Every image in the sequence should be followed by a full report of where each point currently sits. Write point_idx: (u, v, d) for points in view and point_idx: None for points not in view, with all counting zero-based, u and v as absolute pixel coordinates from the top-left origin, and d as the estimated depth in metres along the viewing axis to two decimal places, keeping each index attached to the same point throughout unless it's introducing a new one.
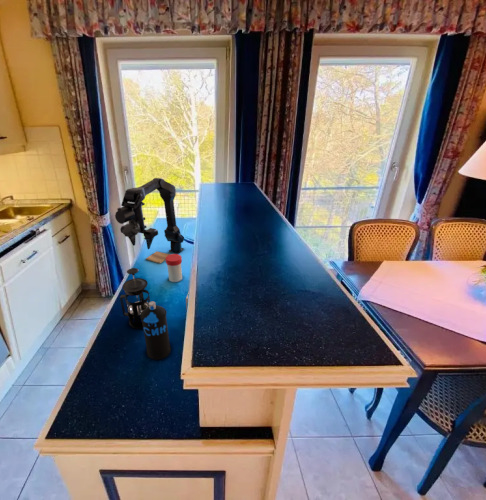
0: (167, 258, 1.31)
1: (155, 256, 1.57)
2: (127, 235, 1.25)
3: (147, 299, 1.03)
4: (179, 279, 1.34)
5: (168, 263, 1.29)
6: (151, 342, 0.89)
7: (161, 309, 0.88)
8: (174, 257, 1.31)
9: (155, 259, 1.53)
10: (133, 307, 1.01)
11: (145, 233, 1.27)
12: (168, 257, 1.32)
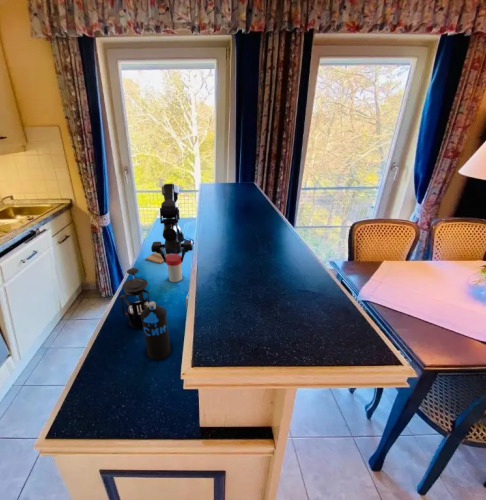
0: (167, 258, 1.31)
1: (155, 256, 1.57)
2: (171, 252, 1.21)
3: (147, 299, 1.03)
4: (179, 279, 1.34)
5: (168, 263, 1.29)
6: (151, 342, 0.89)
7: (161, 309, 0.88)
8: (174, 257, 1.31)
9: (155, 259, 1.53)
10: (133, 307, 1.01)
11: (185, 246, 1.26)
12: (168, 257, 1.32)
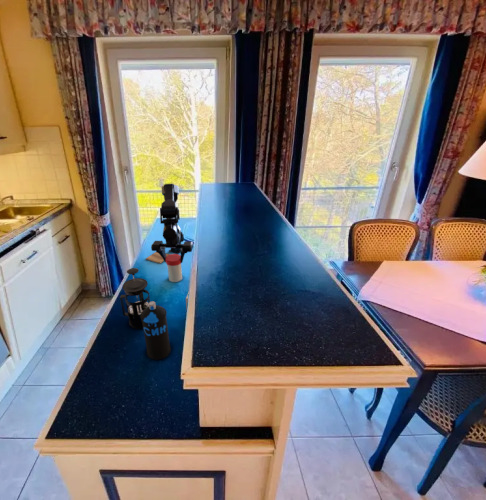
0: (179, 257, 1.32)
1: (155, 256, 1.57)
2: None
3: (147, 299, 1.03)
4: (179, 279, 1.34)
5: None
6: (151, 342, 0.89)
7: (161, 309, 0.88)
8: (172, 257, 1.31)
9: (155, 259, 1.53)
10: (133, 307, 1.01)
11: None
12: (178, 257, 1.31)
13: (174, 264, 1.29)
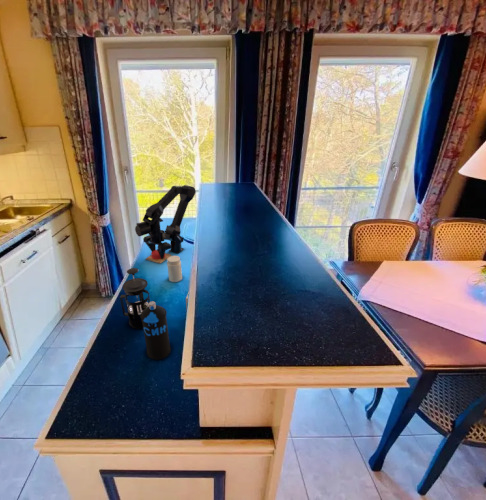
0: None
1: None
2: None
3: (147, 299, 1.03)
4: (179, 279, 1.34)
5: (164, 254, 1.56)
6: (151, 341, 0.89)
7: (161, 309, 0.88)
8: (157, 252, 1.56)
9: (155, 259, 1.53)
10: (133, 307, 1.01)
11: None
12: None
13: (154, 258, 1.53)
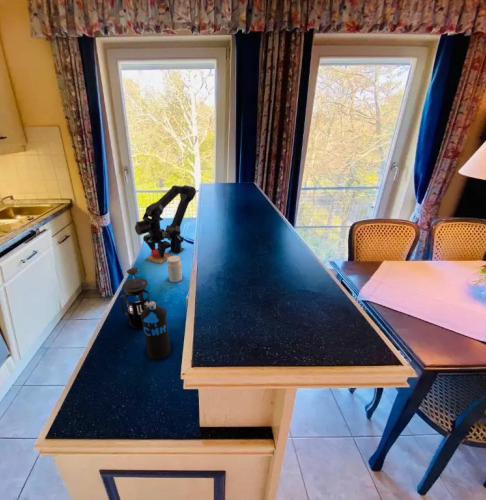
0: None
1: None
2: None
3: (147, 299, 1.03)
4: (179, 279, 1.34)
5: (164, 253, 1.56)
6: (151, 341, 0.89)
7: (161, 309, 0.88)
8: (157, 251, 1.55)
9: (155, 259, 1.53)
10: (133, 307, 1.01)
11: None
12: None
13: (154, 256, 1.53)
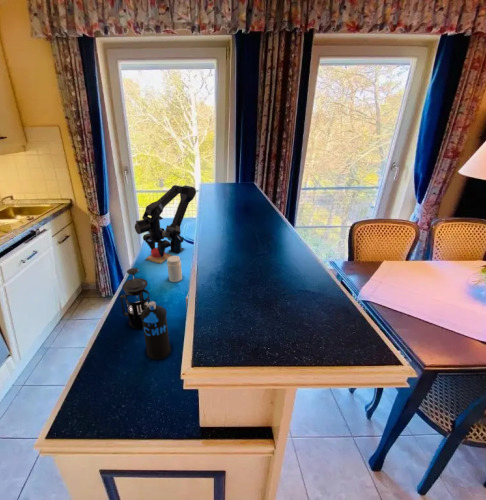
0: None
1: None
2: None
3: (147, 299, 1.03)
4: (179, 279, 1.34)
5: (164, 252, 1.56)
6: (151, 341, 0.89)
7: (161, 309, 0.88)
8: (157, 250, 1.55)
9: (155, 259, 1.53)
10: (133, 307, 1.01)
11: None
12: None
13: (153, 256, 1.53)
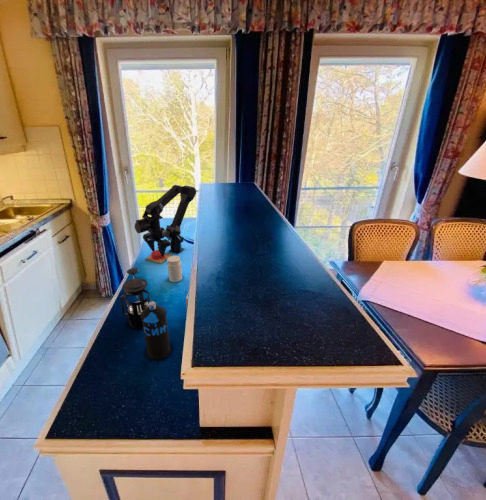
0: None
1: None
2: None
3: (147, 299, 1.03)
4: (179, 279, 1.34)
5: (164, 254, 1.56)
6: (151, 341, 0.89)
7: (161, 309, 0.88)
8: (157, 252, 1.56)
9: None
10: (133, 307, 1.01)
11: None
12: (160, 254, 1.54)
13: (154, 258, 1.53)
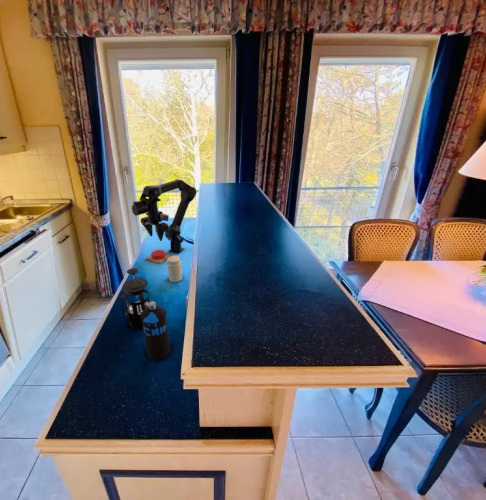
0: (161, 253, 1.54)
1: None
2: None
3: (147, 299, 1.03)
4: (179, 279, 1.34)
5: (164, 254, 1.56)
6: (151, 341, 0.89)
7: (161, 309, 0.88)
8: (157, 252, 1.56)
9: None
10: (133, 307, 1.01)
11: None
12: (160, 254, 1.54)
13: (154, 258, 1.53)
